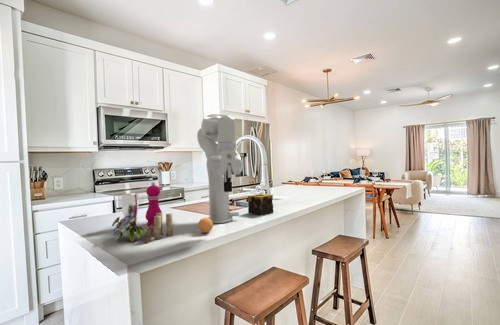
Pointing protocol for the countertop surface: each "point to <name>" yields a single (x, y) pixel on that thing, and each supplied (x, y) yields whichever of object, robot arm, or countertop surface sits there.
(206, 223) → the ball
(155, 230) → the back pin left
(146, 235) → the wall
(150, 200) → the pepper mill
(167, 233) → the front pin
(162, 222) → the back pin right
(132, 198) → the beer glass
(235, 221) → the countertop surface
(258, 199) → the dark textured cube
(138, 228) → the passion flower
